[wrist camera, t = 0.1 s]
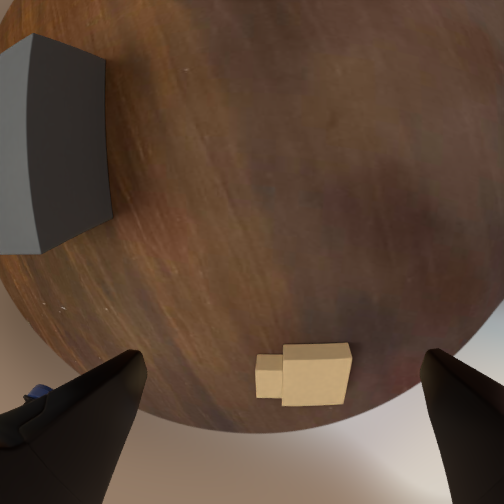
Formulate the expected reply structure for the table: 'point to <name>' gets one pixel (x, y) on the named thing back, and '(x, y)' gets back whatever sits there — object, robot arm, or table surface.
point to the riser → (51, 145)
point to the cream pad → (305, 374)
